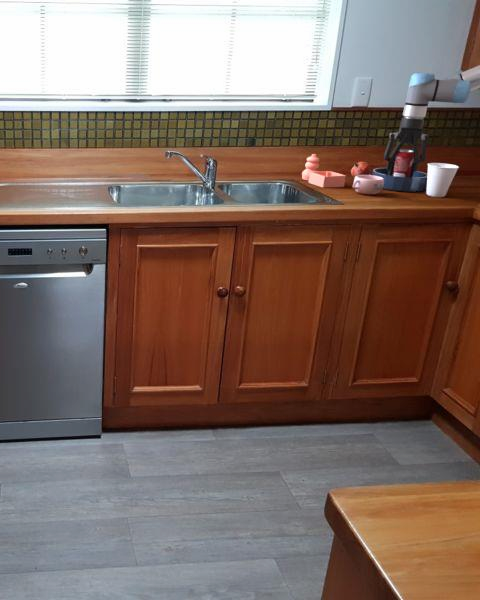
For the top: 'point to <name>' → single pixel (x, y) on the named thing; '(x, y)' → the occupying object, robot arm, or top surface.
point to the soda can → (403, 163)
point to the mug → (368, 184)
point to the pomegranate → (360, 169)
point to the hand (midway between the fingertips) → (399, 179)
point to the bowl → (402, 181)
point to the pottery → (321, 175)
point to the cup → (439, 178)
